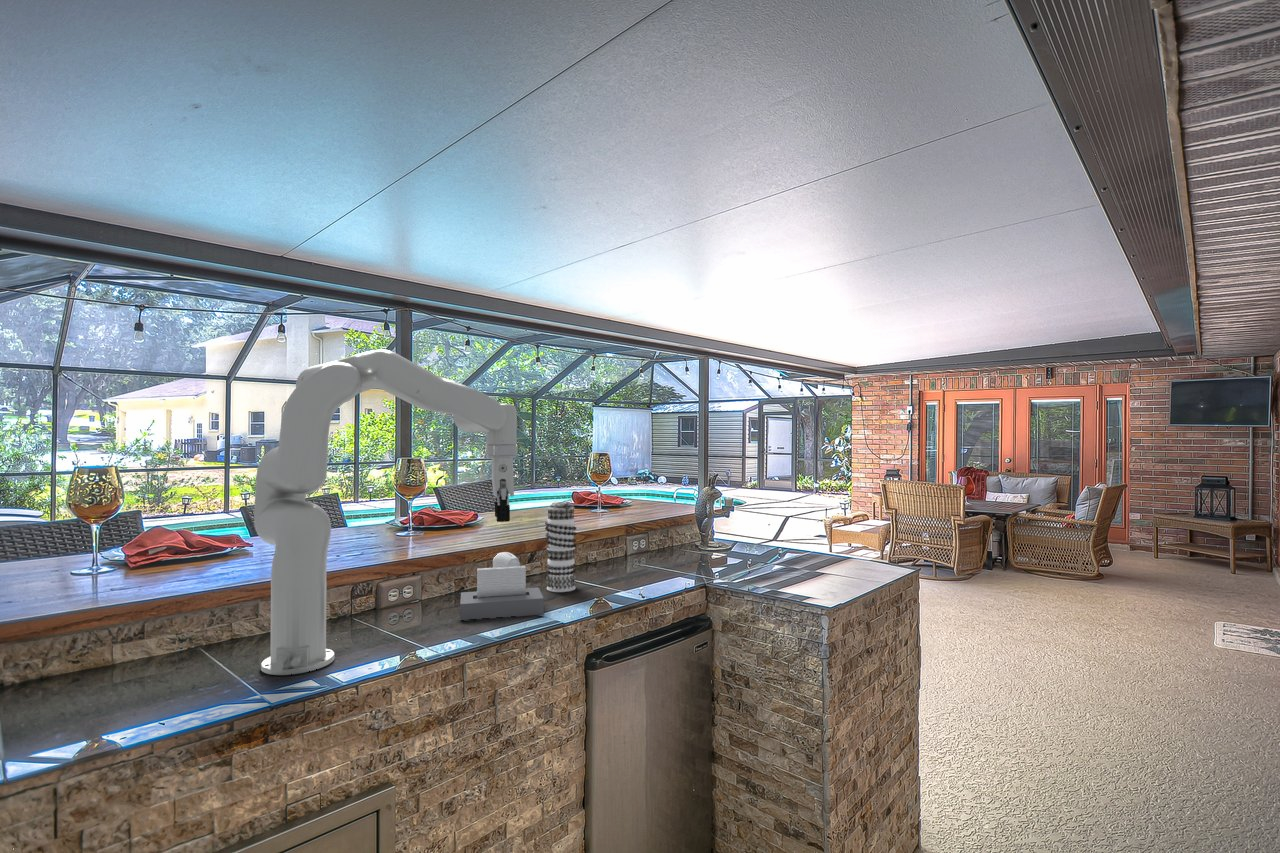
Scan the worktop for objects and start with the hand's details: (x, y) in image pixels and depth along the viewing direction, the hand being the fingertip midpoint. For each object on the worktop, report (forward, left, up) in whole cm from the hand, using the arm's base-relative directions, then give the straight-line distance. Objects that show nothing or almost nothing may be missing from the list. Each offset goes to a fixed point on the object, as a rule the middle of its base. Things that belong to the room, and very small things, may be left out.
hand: (502, 519), depth 161 cm
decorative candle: (+20, -18, -24) cm, 36 cm away
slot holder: (0, 0, -23) cm, 23 cm away
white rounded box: (+14, -2, -24) cm, 27 cm away
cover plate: (0, 0, -23) cm, 23 cm away
